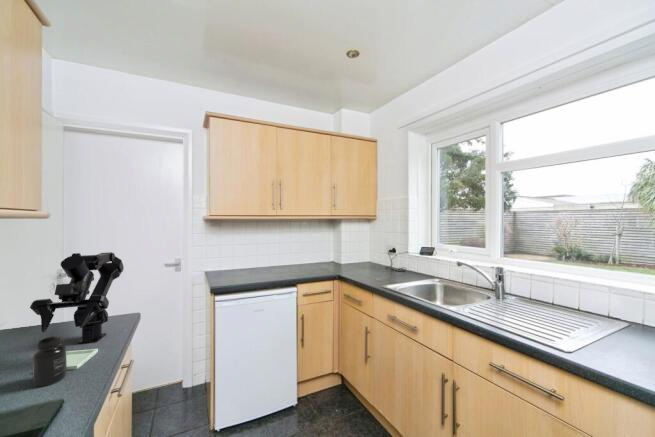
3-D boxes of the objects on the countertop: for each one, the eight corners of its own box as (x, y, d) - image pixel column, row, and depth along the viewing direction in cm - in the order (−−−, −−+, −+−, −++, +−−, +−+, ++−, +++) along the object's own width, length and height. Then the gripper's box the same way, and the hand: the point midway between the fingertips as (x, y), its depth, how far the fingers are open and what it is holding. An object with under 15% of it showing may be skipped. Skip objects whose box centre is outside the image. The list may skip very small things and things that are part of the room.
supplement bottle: (65, 370, 84) (64, 332, 84) (68, 379, 80) (68, 338, 79) (32, 381, 79) (31, 340, 78) (34, 390, 74) (33, 347, 74)
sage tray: (61, 355, 93) (61, 351, 92) (98, 351, 95) (98, 348, 95) (35, 373, 82) (35, 369, 82) (77, 369, 84) (77, 365, 84)
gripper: (33, 275, 86) (7, 322, 76) (105, 270, 93) (90, 314, 83) (48, 292, 94) (27, 338, 83) (114, 287, 100) (101, 329, 90)
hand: (62, 329), depth 85 cm, fingers open, 9 cm apart
